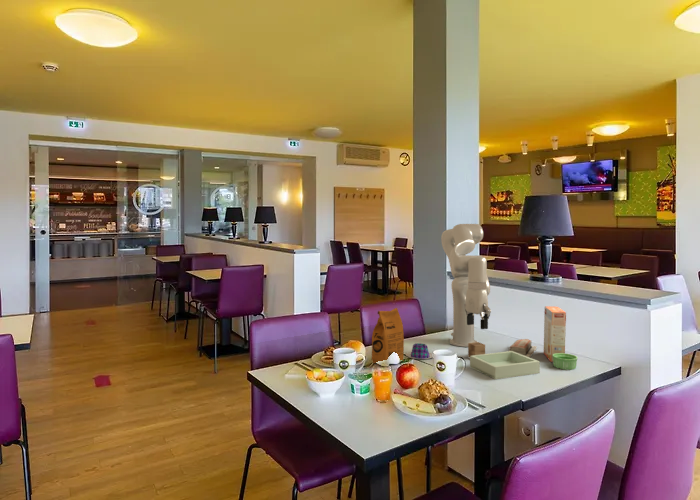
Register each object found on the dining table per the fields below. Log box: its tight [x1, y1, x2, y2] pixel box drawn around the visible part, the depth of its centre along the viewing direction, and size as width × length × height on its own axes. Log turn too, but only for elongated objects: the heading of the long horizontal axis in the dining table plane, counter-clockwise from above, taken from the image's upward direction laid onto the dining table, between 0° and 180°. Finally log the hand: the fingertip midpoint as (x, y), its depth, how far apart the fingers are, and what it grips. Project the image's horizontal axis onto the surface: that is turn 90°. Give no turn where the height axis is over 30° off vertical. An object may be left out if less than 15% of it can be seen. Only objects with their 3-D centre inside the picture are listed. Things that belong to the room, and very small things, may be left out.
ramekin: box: [552, 352, 578, 371], centre depth 186 cm, size 9×9×4 cm
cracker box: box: [543, 305, 567, 363], centre depth 198 cm, size 14×6×21 cm, turn 168°
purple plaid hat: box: [405, 342, 433, 360], centre depth 203 cm, size 12×12×5 cm
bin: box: [469, 350, 541, 380], centre depth 182 cm, size 16×20×4 cm
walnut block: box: [467, 341, 486, 359], centre depth 199 cm, size 5×5×6 cm
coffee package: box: [371, 307, 405, 364], centre depth 193 cm, size 10×12×22 cm
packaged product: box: [508, 338, 537, 358], centre depth 208 cm, size 18×5×10 cm
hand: (477, 326), depth 198 cm, fingers open, 9 cm apart
